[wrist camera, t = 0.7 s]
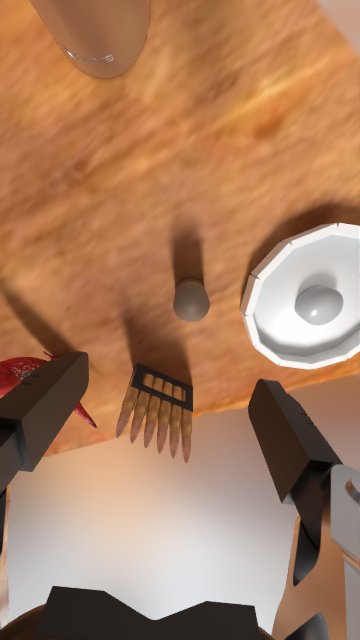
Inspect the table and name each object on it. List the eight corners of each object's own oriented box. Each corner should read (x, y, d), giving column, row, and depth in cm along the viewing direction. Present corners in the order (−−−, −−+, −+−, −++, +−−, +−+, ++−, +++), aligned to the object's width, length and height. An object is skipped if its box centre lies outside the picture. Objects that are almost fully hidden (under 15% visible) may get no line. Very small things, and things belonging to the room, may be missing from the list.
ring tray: (266, 215, 23) (275, 212, 20) (417, 239, 23) (443, 239, 21) (228, 350, 30) (231, 359, 28) (343, 365, 31) (355, 375, 28)
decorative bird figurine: (26, 328, 29) (-45, 369, 20) (116, 392, 34) (91, 449, 25) (17, 339, 30) (-56, 383, 21) (106, 400, 35) (78, 458, 26)
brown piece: (177, 275, 26) (175, 285, 20) (206, 279, 26) (213, 290, 20) (174, 302, 27) (171, 319, 22) (201, 306, 27) (205, 324, 22)
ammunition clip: (133, 370, 32) (106, 439, 21) (137, 362, 32) (112, 429, 20) (187, 394, 34) (189, 469, 23) (193, 387, 33) (197, 461, 22)
